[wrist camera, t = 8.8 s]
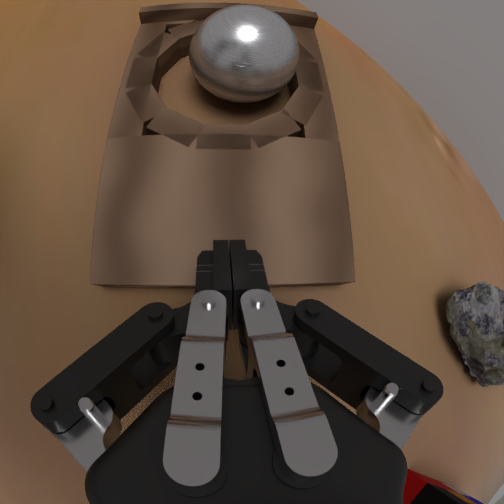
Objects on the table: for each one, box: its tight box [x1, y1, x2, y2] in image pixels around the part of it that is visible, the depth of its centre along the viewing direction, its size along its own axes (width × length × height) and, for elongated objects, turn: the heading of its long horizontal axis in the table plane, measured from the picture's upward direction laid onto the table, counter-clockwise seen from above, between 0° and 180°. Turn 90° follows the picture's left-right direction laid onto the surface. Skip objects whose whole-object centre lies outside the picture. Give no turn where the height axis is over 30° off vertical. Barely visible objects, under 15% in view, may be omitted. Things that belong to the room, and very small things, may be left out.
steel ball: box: [189, 5, 299, 103], centre depth 18 cm, size 8×8×8 cm
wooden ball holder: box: [91, 3, 355, 288], centre depth 19 cm, size 16×24×4 cm, turn 1°
